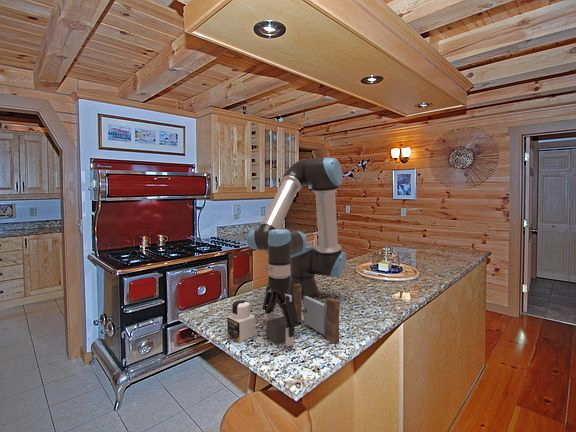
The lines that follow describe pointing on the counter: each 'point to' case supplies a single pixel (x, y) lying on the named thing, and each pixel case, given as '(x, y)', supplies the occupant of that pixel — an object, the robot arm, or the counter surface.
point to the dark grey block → (276, 330)
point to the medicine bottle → (241, 321)
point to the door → (314, 314)
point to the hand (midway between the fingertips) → (279, 337)
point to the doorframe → (331, 314)
